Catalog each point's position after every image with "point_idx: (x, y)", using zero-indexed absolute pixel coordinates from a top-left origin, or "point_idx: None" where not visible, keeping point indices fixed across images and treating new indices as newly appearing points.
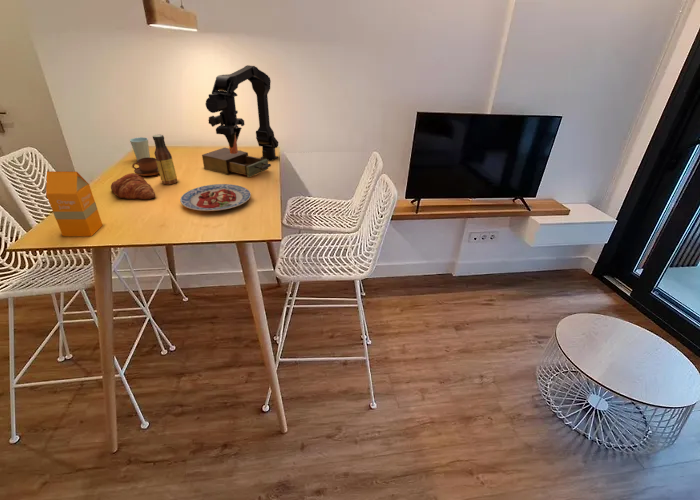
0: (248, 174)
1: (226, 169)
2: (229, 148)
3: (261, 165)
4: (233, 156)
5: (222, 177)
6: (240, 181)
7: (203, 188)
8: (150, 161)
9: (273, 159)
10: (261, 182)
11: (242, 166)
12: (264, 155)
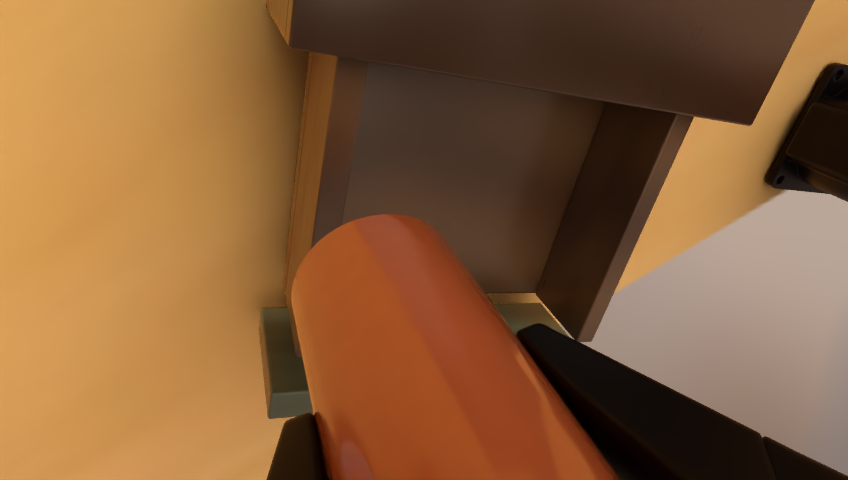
0: (261, 343)
1: (273, 3)
2: (327, 315)
3: None
4: (540, 44)
5: (121, 4)
6: (148, 284)
7: None
8: None
9: (793, 187)
10: (244, 428)
11: None
12: (831, 140)
